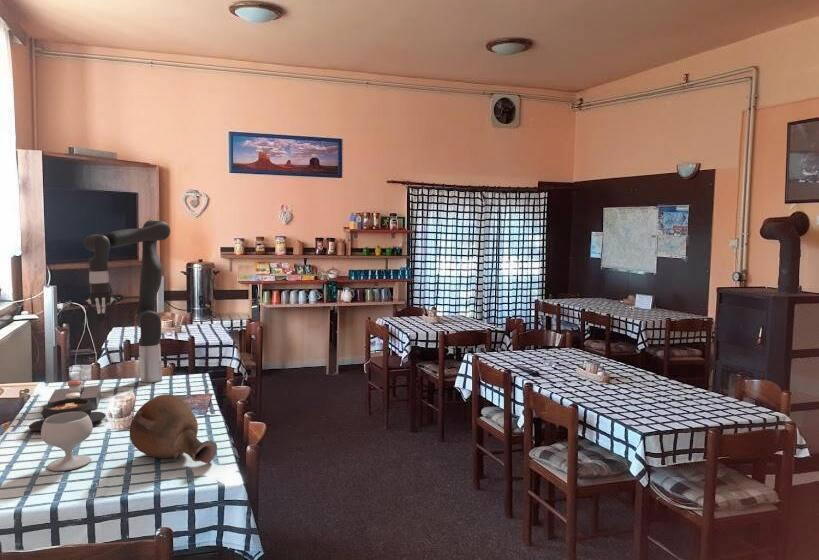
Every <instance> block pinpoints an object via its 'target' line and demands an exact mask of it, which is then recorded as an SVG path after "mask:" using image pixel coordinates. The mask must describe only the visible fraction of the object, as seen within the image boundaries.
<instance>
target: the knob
mask: <svg viewBox="0 0 819 560" xmlns="http://www.w3.org/2000/svg"><path fill="white" fill-rule="evenodd" d="M79 397H80V393H78V392H75V393H69V394H66V399H73V398H79Z"/></svg>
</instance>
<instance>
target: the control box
mask: <svg viewBox="0 0 819 560" xmlns="http://www.w3.org/2000/svg"><path fill="white" fill-rule="evenodd" d="M69 393H70V391H69V387H67V388H59V389H54V390H53V393H52V394H51V396H50V398H49V399H48V401H47V404H49V403H52V402H55V401H59V400H64V399H66V394H69ZM101 397H102V390H101V385H100V384H97V385H89V386H84V388H83V390H81V394H80V397H79V398H83V399H88V400H90V402H91V404H92V405H93V408H92V409H91V411H93V410H95V411H96V410H98V407H99V404H100V401H101Z"/></svg>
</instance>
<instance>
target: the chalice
mask: <svg viewBox="0 0 819 560" xmlns="http://www.w3.org/2000/svg"><path fill="white" fill-rule="evenodd" d="M93 427H94V425H93V423H92V422H91V419H90V417H89V416H88V414H87V413H85V412H65V413H60V414H56V415H52V416H50V417H48V418H46V419H45V421H44V423H43V425H42V429H41V430H40V436H41V440H42V441H43V442H44V443H45V444H47V445H48V446H51V447H56V448H58V449H61V450H62V451H64V453H65V457H60V458H58V459H55V460H53V461H51V462H50V463H48V465H47V466H46V468H47V470H50V471H54V472H64V471H70V470H76V469H78V468H81V467H84V466H86V465H88V464H90V463H91V462H92V458H91V457H90V456H88V455H83V454H82V455H81V454H80V455H78V454H77V455H73V451H74V449H75V447H76V446H77V445H79V444H80V443H83V442H84V441H86V439H88V438H89V437H90V436H91V435H92V432H93V430H94V429H93Z"/></svg>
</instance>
